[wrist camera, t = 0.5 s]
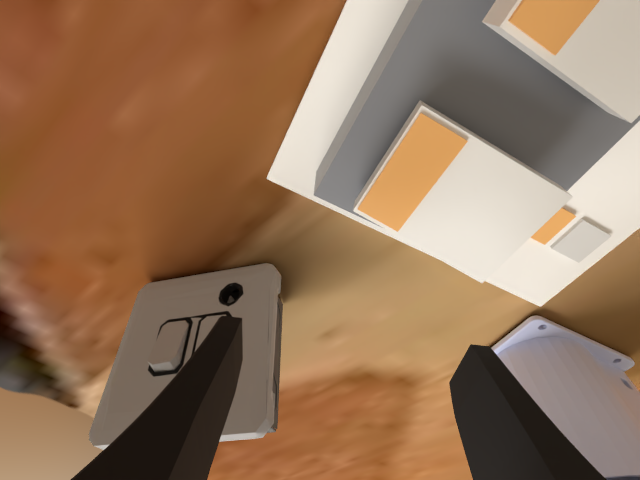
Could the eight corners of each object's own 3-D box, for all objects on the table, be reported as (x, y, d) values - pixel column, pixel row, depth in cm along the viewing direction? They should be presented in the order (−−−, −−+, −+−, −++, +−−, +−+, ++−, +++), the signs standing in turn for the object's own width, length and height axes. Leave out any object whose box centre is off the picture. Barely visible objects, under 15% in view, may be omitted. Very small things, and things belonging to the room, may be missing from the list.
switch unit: (848, 33, 14) (1014, 43, 10) (532, 295, 22) (568, 348, 19) (489, -314, 10) (571, -484, 6) (269, 170, 18) (254, 209, 14)
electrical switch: (278, 257, 21) (252, 414, 14) (301, 310, 24) (289, 459, 17) (142, 280, 23) (56, 431, 16) (180, 326, 26) (124, 470, 19)
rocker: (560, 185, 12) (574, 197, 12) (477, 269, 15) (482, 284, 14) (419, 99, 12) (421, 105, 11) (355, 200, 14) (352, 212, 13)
